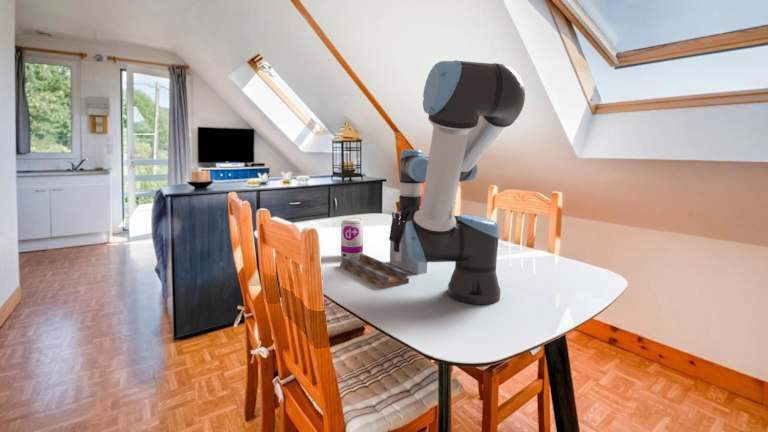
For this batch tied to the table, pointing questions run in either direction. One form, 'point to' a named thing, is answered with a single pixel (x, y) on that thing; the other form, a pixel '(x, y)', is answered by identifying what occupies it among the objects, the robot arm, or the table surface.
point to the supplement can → (352, 238)
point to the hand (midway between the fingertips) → (407, 258)
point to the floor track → (375, 271)
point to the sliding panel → (407, 259)
